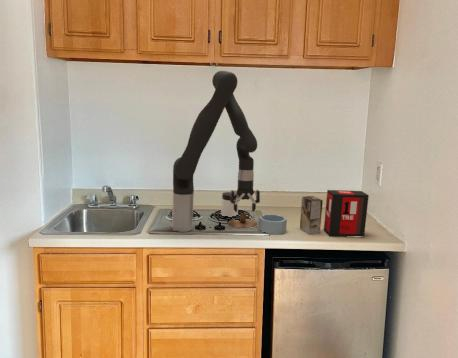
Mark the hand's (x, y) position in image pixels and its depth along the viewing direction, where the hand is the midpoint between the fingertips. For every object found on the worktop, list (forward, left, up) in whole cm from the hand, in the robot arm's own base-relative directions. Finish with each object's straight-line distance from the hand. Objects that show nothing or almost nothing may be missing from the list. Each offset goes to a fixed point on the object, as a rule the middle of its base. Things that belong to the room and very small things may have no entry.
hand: (244, 211), depth 208 cm
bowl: (+12, -10, -7) cm, 16 cm away
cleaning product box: (+45, -17, -7) cm, 48 cm away
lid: (0, 0, -7) cm, 7 cm away
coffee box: (+30, -12, -7) cm, 32 cm away
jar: (-4, +14, -7) cm, 17 cm away
